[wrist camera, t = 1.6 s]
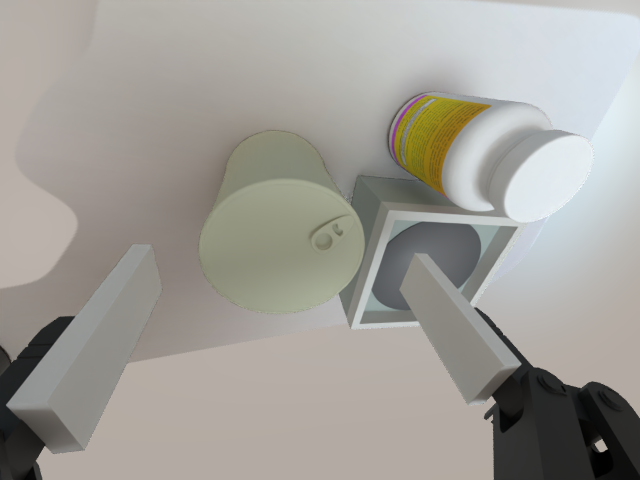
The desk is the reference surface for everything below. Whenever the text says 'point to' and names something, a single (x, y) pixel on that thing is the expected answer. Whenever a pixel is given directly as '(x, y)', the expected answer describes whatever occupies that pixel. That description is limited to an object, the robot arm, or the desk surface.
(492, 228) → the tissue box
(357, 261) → the can
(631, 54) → the desk surface
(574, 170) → the supplement bottle
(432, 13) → the desk surface
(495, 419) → the robot arm
